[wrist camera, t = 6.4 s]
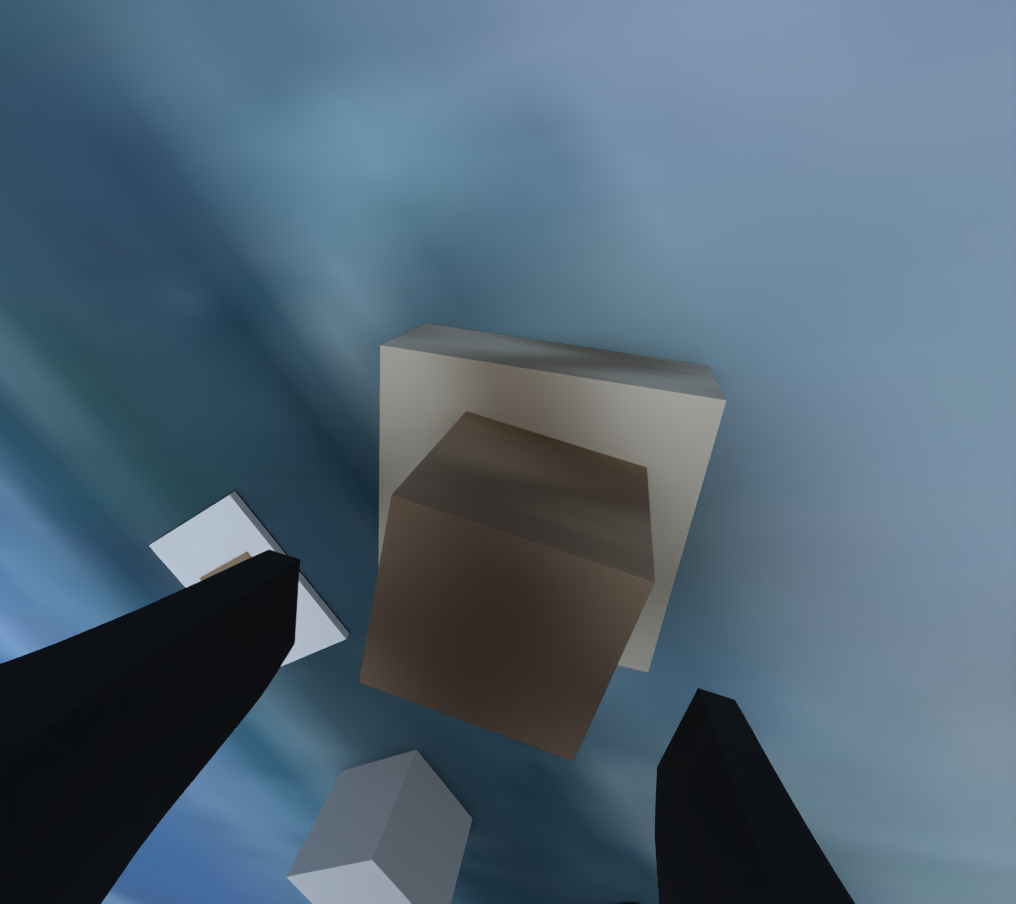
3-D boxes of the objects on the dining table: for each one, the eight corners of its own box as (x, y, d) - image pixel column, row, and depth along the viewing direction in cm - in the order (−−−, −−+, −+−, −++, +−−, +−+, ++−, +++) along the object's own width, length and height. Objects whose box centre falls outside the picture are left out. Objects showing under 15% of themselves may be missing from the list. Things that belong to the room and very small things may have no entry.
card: (349, 634, 21) (344, 640, 21) (266, 669, 23) (259, 676, 22) (235, 491, 19) (227, 496, 19) (155, 541, 21) (146, 547, 21)
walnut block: (646, 467, 13) (654, 582, 8) (589, 611, 14) (573, 761, 10) (466, 411, 13) (391, 495, 9) (433, 557, 15) (359, 682, 11)
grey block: (473, 817, 24) (441, 937, 20) (397, 833, 26) (354, 947, 22) (417, 748, 23) (372, 859, 19) (342, 769, 25) (286, 876, 21)
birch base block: (706, 362, 15) (726, 400, 12) (645, 594, 18) (648, 672, 15) (430, 321, 16) (380, 345, 13) (420, 545, 19) (378, 608, 16)
